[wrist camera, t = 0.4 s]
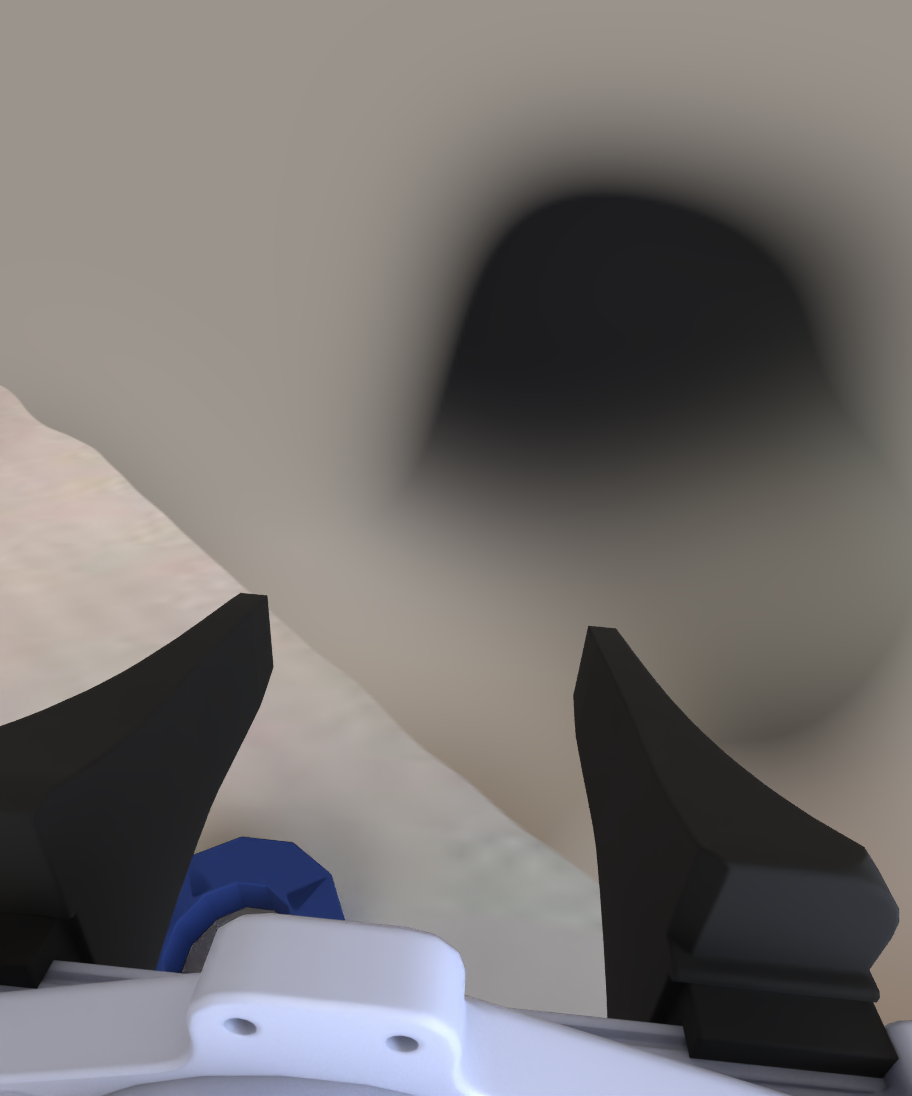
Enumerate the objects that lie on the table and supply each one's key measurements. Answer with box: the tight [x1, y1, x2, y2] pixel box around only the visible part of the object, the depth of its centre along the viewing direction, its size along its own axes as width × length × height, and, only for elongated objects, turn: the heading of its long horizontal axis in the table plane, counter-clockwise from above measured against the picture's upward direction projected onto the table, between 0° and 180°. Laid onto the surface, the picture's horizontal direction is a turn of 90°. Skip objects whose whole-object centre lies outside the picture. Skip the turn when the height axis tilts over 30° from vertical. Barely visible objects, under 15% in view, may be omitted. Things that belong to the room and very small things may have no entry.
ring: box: [155, 837, 345, 973], centre depth 26 cm, size 9×9×2 cm
